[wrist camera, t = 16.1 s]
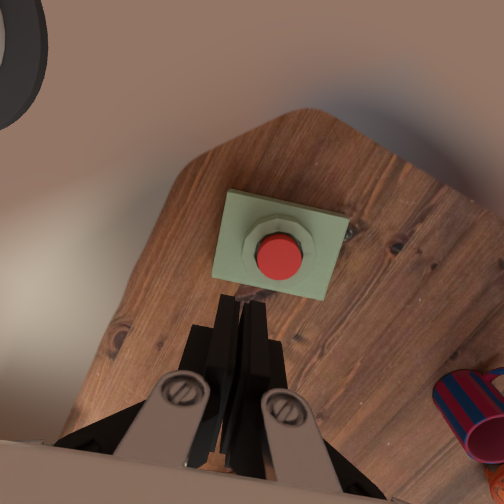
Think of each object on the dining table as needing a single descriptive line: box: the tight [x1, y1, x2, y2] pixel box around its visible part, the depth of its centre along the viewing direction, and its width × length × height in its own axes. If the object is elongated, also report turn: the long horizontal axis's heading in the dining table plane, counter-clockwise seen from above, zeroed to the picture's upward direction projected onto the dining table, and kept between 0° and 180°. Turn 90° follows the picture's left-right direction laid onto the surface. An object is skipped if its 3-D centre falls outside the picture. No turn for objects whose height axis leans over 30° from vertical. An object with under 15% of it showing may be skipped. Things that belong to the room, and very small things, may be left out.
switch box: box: [211, 188, 350, 301], centre depth 33 cm, size 12×9×4 cm
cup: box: [433, 367, 504, 464], centre depth 37 cm, size 7×10×7 cm
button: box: [257, 234, 302, 280], centre depth 31 cm, size 4×4×2 cm
